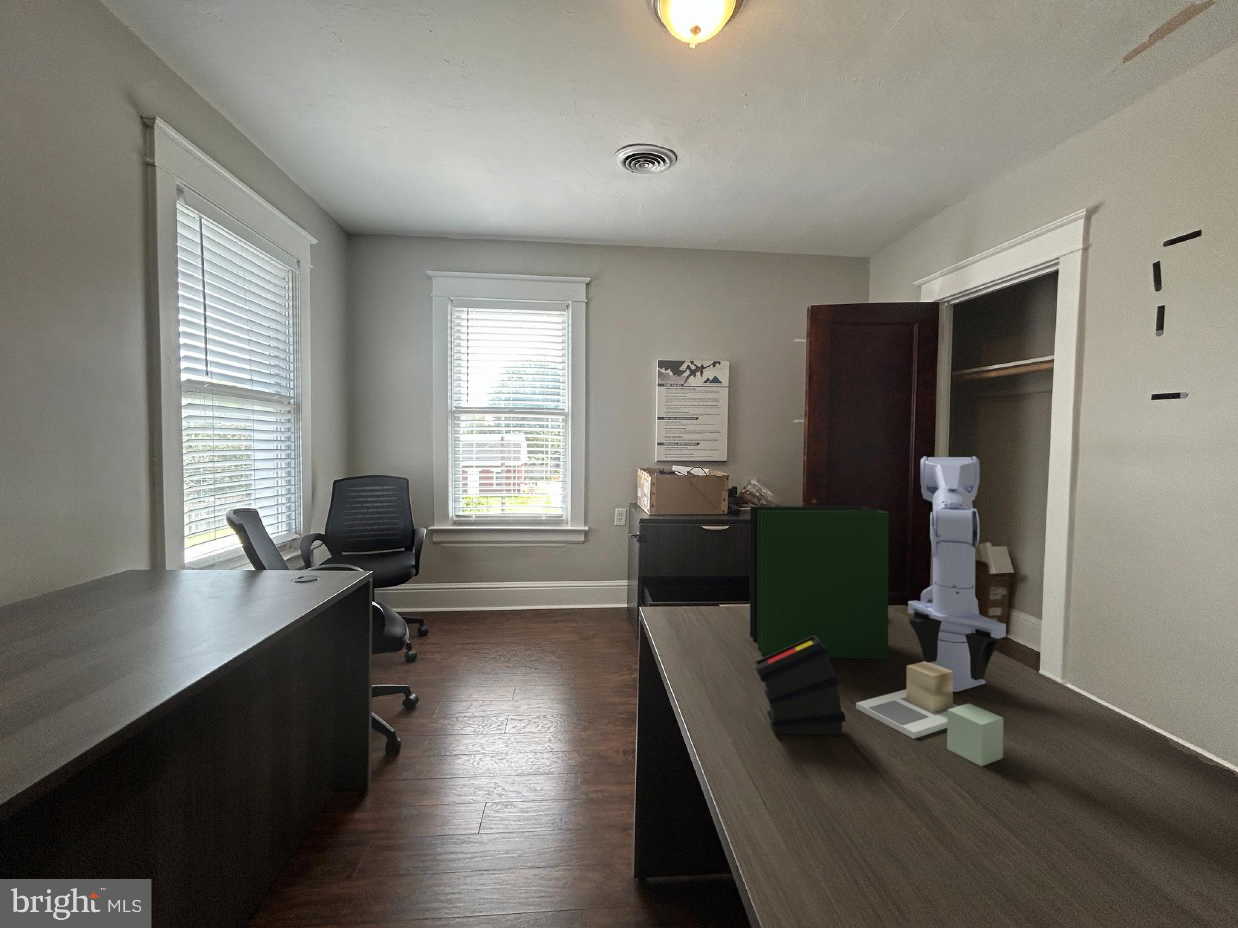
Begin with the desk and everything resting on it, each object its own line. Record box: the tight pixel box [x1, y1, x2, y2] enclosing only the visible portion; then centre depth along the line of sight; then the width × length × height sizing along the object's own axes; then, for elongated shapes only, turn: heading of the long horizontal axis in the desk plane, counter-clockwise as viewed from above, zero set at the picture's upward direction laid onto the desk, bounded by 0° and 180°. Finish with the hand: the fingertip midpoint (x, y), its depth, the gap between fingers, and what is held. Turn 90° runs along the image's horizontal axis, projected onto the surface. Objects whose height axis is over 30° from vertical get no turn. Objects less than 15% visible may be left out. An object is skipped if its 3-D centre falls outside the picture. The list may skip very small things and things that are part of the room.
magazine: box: [754, 635, 846, 737], centre depth 85 cm, size 4×13×15 cm, turn 87°
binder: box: [749, 505, 890, 660], centre depth 124 cm, size 27×15×32 cm, turn 87°
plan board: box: [855, 688, 959, 739], centre depth 91 cm, size 15×11×1 cm
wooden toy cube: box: [906, 660, 954, 712], centre depth 93 cm, size 5×5×6 cm
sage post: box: [946, 703, 1004, 767], centre depth 79 cm, size 5×5×6 cm
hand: (953, 669), depth 85 cm, fingers open, 7 cm apart
